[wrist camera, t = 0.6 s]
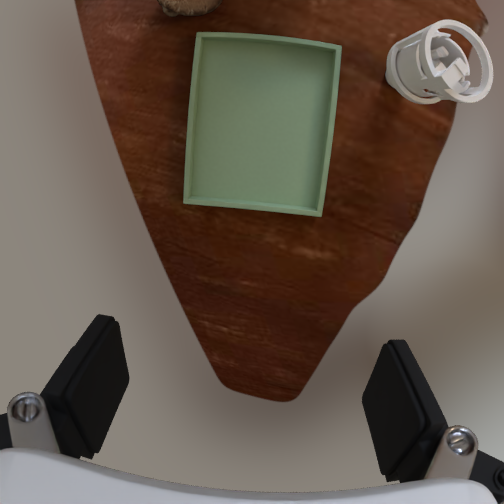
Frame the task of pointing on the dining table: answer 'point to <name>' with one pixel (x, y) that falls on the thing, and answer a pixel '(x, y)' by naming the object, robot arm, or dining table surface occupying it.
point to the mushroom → (188, 7)
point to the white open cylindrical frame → (437, 66)
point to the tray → (261, 122)
